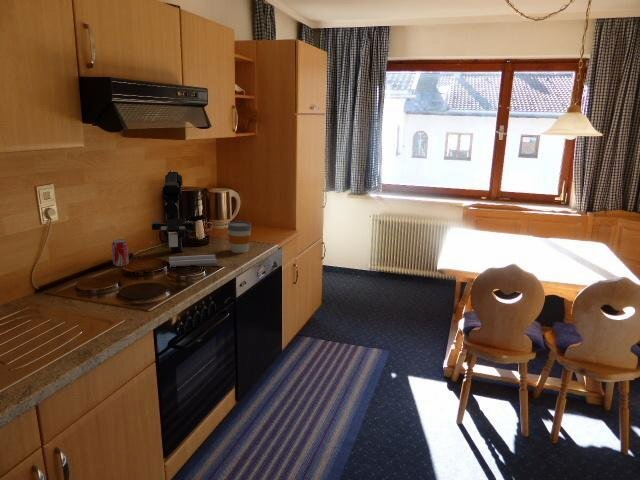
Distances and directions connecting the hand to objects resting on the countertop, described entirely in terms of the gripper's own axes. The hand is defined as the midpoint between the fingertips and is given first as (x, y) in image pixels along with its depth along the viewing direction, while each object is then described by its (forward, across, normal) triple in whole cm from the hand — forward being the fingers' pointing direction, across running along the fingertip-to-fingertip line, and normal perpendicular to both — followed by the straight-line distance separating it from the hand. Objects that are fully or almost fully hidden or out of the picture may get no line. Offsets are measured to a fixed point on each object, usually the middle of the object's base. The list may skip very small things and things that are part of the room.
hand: (173, 242), depth 226 cm
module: (+1, 0, 0) cm, 1 cm away
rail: (+11, +9, 0) cm, 14 cm away
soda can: (+11, -24, +4) cm, 27 cm away
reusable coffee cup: (+11, +34, +20) cm, 41 cm away
